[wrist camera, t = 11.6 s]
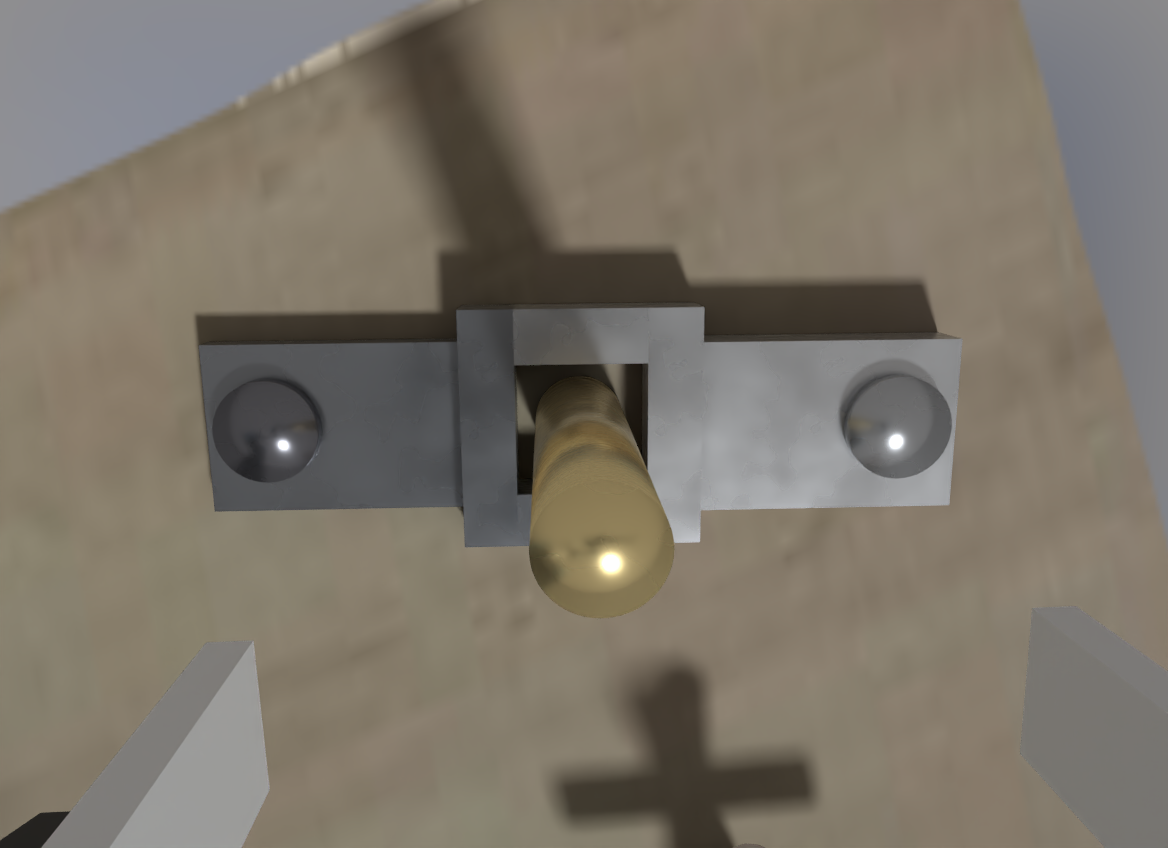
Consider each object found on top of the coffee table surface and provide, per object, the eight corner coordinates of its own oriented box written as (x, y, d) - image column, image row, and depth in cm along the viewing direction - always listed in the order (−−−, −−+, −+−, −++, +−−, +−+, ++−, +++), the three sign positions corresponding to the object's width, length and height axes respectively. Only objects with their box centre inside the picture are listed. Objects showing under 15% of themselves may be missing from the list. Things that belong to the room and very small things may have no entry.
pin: (536, 461, 34) (530, 620, 20) (534, 376, 33) (527, 481, 20) (622, 460, 34) (673, 616, 21) (622, 375, 34) (674, 478, 20)
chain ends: (227, 533, 34) (201, 558, 32) (205, 308, 32) (176, 315, 30) (924, 519, 35) (953, 542, 33) (940, 299, 33) (973, 305, 31)
